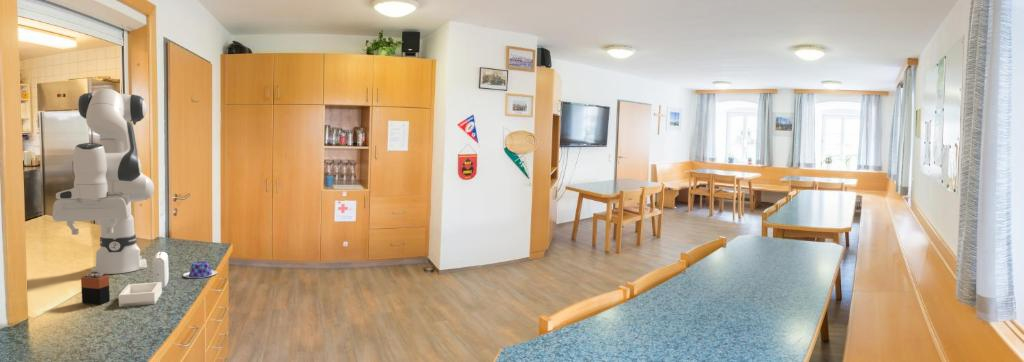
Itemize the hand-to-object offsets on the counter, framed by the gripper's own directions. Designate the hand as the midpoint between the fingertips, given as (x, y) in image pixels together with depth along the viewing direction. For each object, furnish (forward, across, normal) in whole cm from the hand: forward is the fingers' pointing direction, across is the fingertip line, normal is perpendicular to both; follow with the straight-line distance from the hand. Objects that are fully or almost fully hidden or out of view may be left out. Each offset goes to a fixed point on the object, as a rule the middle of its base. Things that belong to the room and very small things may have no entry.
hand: (92, 233), depth 181 cm
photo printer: (+23, -16, -17) cm, 33 cm away
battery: (+24, 0, 0) cm, 24 cm away
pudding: (+23, -28, -28) cm, 46 cm away
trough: (+24, -13, +1) cm, 27 cm away
